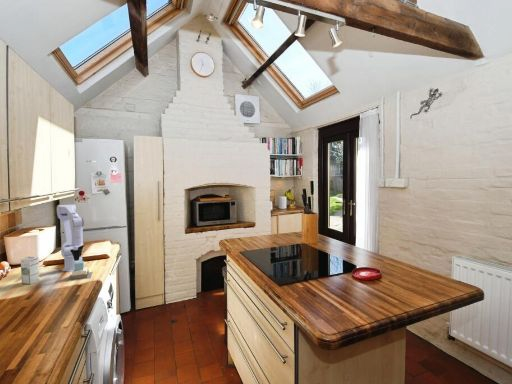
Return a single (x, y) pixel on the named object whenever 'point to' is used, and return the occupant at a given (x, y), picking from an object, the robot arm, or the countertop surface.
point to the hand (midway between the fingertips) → (77, 258)
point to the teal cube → (79, 265)
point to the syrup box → (29, 270)
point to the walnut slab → (80, 276)
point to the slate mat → (81, 278)
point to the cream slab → (80, 271)
